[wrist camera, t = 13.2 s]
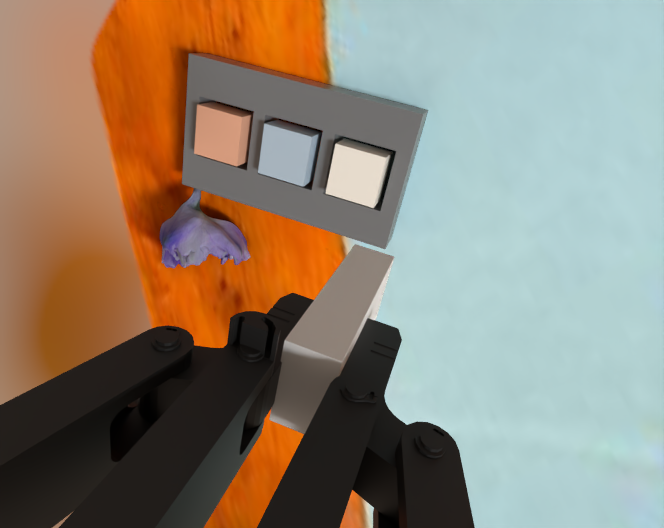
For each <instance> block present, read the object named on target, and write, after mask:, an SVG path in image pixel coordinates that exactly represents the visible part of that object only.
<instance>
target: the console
mask: <svg viewBox="0 0 664 528" xmlns="http://www.w3.org/2000/svg"><path fill="white" fill-rule="evenodd" d="M216 101H218V102H222V103H225V104H229V105H233V106H236V107H240V108H243V109H247V110H251V111H254V114H253V123H252V131H251V140H250V148H249V157H248V162H246V163H244V164H241V165H239V166H234V165H230V164H227V163H224V162H221V161H217V160H214V159H211V158H207V157H204V156H201V155H198V154H194V147H195V132H196V116H197V105H198V104H203V103H209V102H215V103H216ZM427 113H428V110H425V109H421V108H418V107H414V106H410V105H406V104H402V103H398V102H394V101H390V100H387V99H383V98H379V97H375V96H371V95H367V94H363V93H359V92H356V91H352V90H348V89H344V88H340V87H336V86H332V85H328V84H325V83H321V82H317V81H313V80H309V79H305V78H301V77H297V76H294V75H290V74H286V73H282V72H278V71H274V70H270V69H266V68H263V67H259V66H255V65H251V64H247V63H243V62H239V61H235V60H231V59H228V58H224V57H220V56H216V55H212V54H208V53H189V59H188V78H187V98H186V117H185V136H184V155H183V174H182V184H183V185H187V186H190V187H193V188H196V189H199V190H202V191H205V192H208V193H212V194H215V195H218V196H221V197H224V198H227V199H230V200H233V201H236V202H240V203H243V204H246V205H249V206H252V207H255V208H258V209H261V210H265V211H268V212H271V213H274V214H277V215H280V216H283V217H286V218H289V219H293V220H296V221H299V222H302V223H305V224H308V225H311V226H314V227H318V228H321V229H324V230H327V231H330V232H333V233H336V234H339V235H342V236H346V237H349V238H352V239H355V240H358V241H361V242H364V243H367V244H371V245H374V246H377V247H380V248H383V249H386V247H387V245H388V243H389V242H390V240H391V238H392V235H393V231H394V228H395V224H396V221H397V217H398V214H399V210H400V207H401V203H402V200H403V196H404V193H405V189H406V186H407V182H408V179H409V175H410V172H411V168H412V165H413V161H414V158H415V155H416V151H417V148H418V144H419V141H420V137H421V134H422V130H423V127H424V123H425V120H426V116H427ZM278 118H279V119H283V120H287V121H290V122H294V123H297V124H301V125H305V126H308V127H312V128H315V129H319V130H322V131H323V133H322V138H321V144H320V149H319V154H318V160H317V165H316V170H315V176H314V180H312V181H311V182H309V183H308V184H306V185H305V186H299V185H296V184H293V183H289V182H286V181H283V180H280V179H276V178H273V177H270V176H267V175H263V174H260V173H258V168H259V160H260V153H261V145H262V137H263V130H264V123H268V122H271V121H274V120H278ZM343 137H348V138H351V139H355V140H358V141H362V142H366V143H369V144H373V145H376V146H380V147H384V148H387V149H391V150H394V151H396V155H395V158H394V162H393V166H392V170H391V173H390V177H389V181H388V185H387V188H386V192H385V196H384V200H379V202H378V203H377V204H376V206H375V207H374V208H371V207H368V206H365V205H362V204H358V203H355V202H352V201H348V200H345V199H342V198H339V197H335V196H332V195H329V194H326V188H327V183H328V178H329V173H330V168H331V164H332V159H333V154H334V149H335V144H336V143H338V142H339V141H341V140H343Z"/></svg>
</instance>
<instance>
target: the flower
mask: <svg viewBox="0 0 664 528" xmlns="http://www.w3.org/2000/svg"><path fill="white" fill-rule="evenodd" d="M201 191H202V190H199V189H196V188H194V190H193V194H192V196H191V197H190V198H189V199H188V200H187V201H186V202H185V203H183V204H182V205H181V207H180V208H179V209H178V210H177V211H176V213H175V214H174V216H173V217H171V218H170V219H168V220H166V221H165V222H164V223H163V224H162V226H161V229H160V241H161V244H162V246H163V248H162V263H164V264H165V266H166V267H172V268H175V267H176V265H177V264H180V265H181V266H182V267H184V268H186V267H187V266H189V265H192V264H194V265H200V264H201V262H202V261H205V260H206V257H207V256H208V255H209V254H212V255H214V256H217V257H218V258H219V259H220V258H221V264H222V265H223V264H224V263H225V262H226V261H227V260H228V258H229V259H234V263H235V265H238V264H239V263H240V262H241V261H243V260H247V259H249V258H251V257H250V254H249V251H248V250H247V242H246V239H245V237H244V236H243V234H242V233H241V231H240V230H239V228H238V227H237V226H236V225H234V224H233V223H231V222H229V221H226V220H220V219H214V218H211V217H208V216H207V215H205V214H204V213H203V212H202V211H201V209H200V204H199V203H200V199H201ZM228 254H229V256H228ZM163 260H164V262H163Z"/></svg>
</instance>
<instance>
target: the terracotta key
mask: <svg viewBox="0 0 664 528" xmlns="http://www.w3.org/2000/svg"><path fill="white" fill-rule="evenodd" d="M253 114H254V113H251V112H247V111H244V110H240V109H237V108H233V107H230V106H226V105H222V104H219V103H215V102H209V103H203V104H198V105H197V116H196V132H195V147H194V154H198V155H201V156H204V157H207V158H211V159H214V160H217V161H221V162H224V163H227V164H230V165H234V166H239V165H241V164H244V163H246V162H248V157H249V148H250V140H251V131H252V123H253Z"/></svg>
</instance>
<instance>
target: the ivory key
mask: <svg viewBox="0 0 664 528" xmlns="http://www.w3.org/2000/svg"><path fill="white" fill-rule="evenodd" d="M391 156H392V152H391V151H387V150H384V149H380V148H376V147H373V146H369V145H366V144H362V143H359V142H355V141H351V140H348V139H343V140H341V141H339V142H338V143H336V144H335V149H334V154H333V159H332V164H331V168H330V173H329V178H328V183H327V188H326V194H329V195H332V196H335V197H339V198H342V199H345V200H348V201H352V202H355V203H358V204H362V205H365V206H368V207H371V208H374V207H375V206H376V204H377V203H378V202H379V200H380V198H381V194H382V190H383V187H384V183H385V179H386V175H387V171H388V168H389V164H390V160H391Z"/></svg>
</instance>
